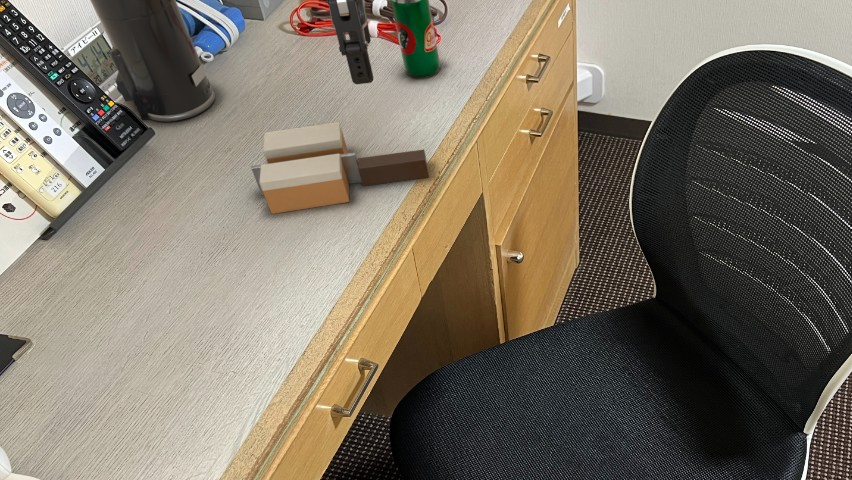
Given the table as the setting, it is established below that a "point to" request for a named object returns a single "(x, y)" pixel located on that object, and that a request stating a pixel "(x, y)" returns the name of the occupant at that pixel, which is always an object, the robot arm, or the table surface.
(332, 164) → the cake slice
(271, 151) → the cake
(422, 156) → the knife
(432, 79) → the table surface
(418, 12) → the soda can
